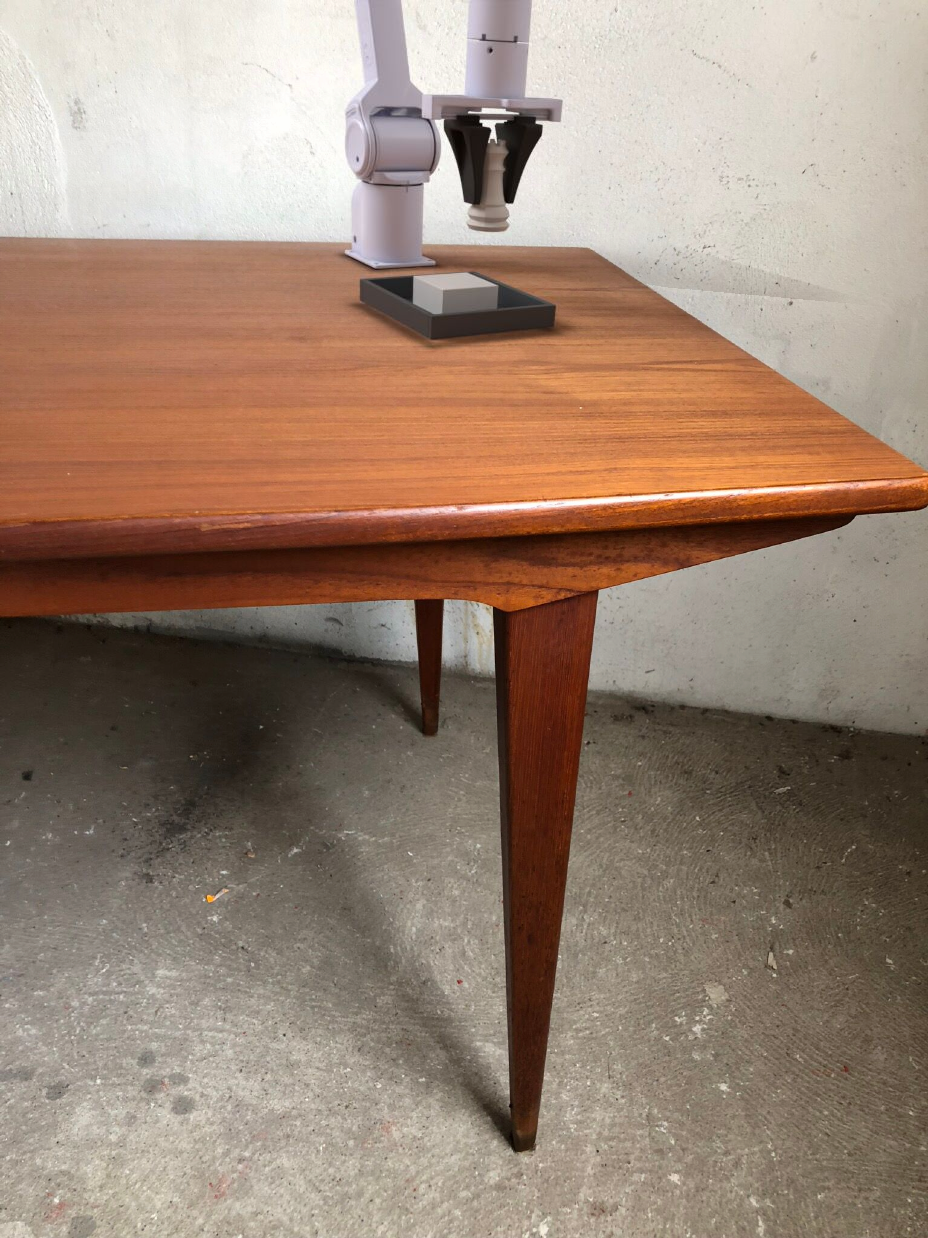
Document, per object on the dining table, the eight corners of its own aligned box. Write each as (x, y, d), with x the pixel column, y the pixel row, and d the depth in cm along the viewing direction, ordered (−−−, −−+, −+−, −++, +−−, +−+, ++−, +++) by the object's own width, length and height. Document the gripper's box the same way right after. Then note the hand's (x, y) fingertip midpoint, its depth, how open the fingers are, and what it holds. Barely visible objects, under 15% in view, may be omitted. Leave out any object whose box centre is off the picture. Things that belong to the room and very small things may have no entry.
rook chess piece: (505, 233, 90) (512, 142, 86) (461, 230, 90) (465, 139, 86) (512, 227, 94) (518, 139, 89) (470, 223, 94) (474, 136, 90)
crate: (359, 305, 91) (359, 278, 90) (472, 296, 97) (474, 270, 96) (430, 346, 80) (431, 316, 79) (553, 332, 86) (556, 304, 85)
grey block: (412, 307, 89) (413, 275, 88) (465, 303, 92) (467, 272, 90) (441, 322, 85) (443, 289, 83) (496, 317, 87) (498, 285, 86)
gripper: (450, 38, 77) (444, 211, 85) (587, 46, 84) (570, 206, 91) (412, 36, 82) (409, 199, 90) (543, 44, 89) (531, 196, 96)
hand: (488, 202), depth 91 cm, fingers closed on rook chess piece, 3 cm apart
